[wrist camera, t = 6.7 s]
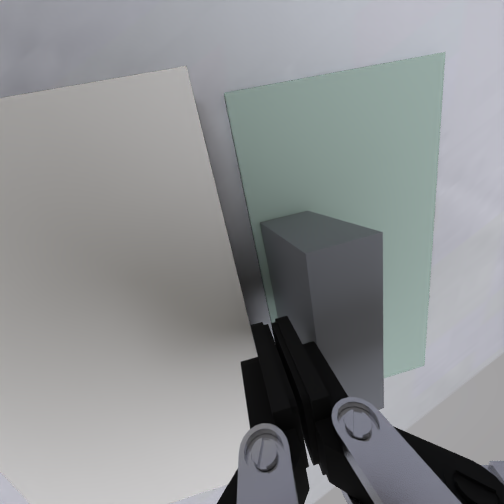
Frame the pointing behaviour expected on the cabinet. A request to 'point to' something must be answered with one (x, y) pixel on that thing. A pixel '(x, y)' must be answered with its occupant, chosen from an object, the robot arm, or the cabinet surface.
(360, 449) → the robot arm
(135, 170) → the stand
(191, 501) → the cabinet surface
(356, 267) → the case
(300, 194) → the mat
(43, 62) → the cabinet surface
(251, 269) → the cabinet surface
